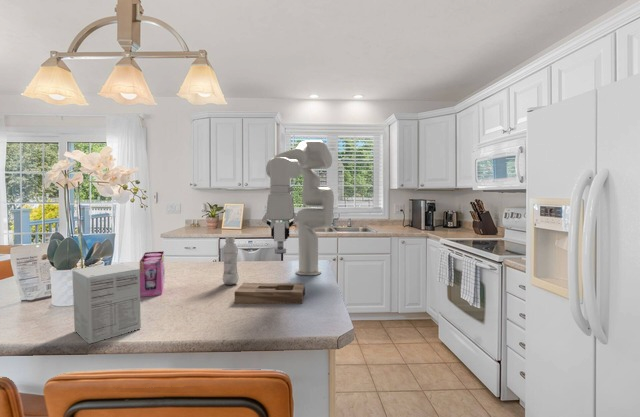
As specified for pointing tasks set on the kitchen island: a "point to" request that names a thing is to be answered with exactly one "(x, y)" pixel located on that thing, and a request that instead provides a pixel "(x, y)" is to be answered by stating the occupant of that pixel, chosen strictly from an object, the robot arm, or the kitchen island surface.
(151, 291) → the gum box
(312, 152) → the robot arm
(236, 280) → the plastic bottle
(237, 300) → the keyhole plate
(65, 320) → the kitchen island surface
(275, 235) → the steel peg
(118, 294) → the supplement box
